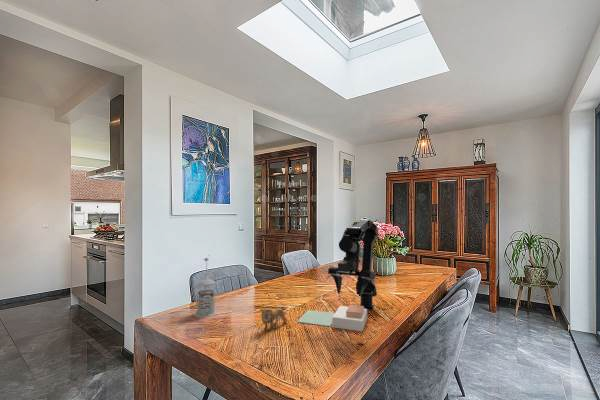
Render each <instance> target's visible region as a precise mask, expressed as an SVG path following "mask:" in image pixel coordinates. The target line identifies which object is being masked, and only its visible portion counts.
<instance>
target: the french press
mask: <svg viewBox="0 0 600 400" xmlns="http://www.w3.org/2000/svg"><path fill="white" fill-rule="evenodd" d="M203 260H204V261H205V265H206V266H205V273H207V266H208V265H207V264H208V262H207V261H209V258H208V257H205V258H204V259H203ZM215 284H216V282H215V280H213V279H209V278H208V279H207V278H204V279H201V280H199V281H198V282H196V285H195V286H193V288H192V290H191V292H190V293H191V294H190V295H191V299H192V300H194V299H196V300H194V302H195V303H196V312H195V313H194V314H193V315H194V317H195V318H201V319H202V318H203V319H205V318H211V317H214V316H215V315H217V314H218V312H217V311H216V310H215V303H216V301H215V300H216V297H215V296H216V295H215V290H212V289H203V290H199V289H200V287H210V286H214V285H215ZM195 289H197V290H199V291H198V292H197V295H196V297H195Z"/></svg>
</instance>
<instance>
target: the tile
mask: <svg viewBox="0 0 600 400" xmlns="http://www.w3.org/2000/svg"><path fill="white" fill-rule="evenodd" d="M347 307H348V309H347V311H346V316H349V317H357V318H361V317H362V315H363V312H364V306H360V305H358V304H357V305H356V304H349V305H348V306H347Z"/></svg>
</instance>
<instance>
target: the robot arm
mask: <svg viewBox="0 0 600 400" xmlns="http://www.w3.org/2000/svg"><path fill="white" fill-rule="evenodd" d="M378 236H379V229H378V225H377V224H376V223H374V222H372V220H371V219H369V218H360V220H359V221H358V222H357V223H355V224H354V225H349V226H347V227H346V228H345V230H344V232H343V234H342V237H341V239H339V240H340V241H339V242H338V247H339V250H340V251H341V252H344V253H345V255H344V257H343V260H342V261H341V260H340V261H339V262H338V263H337V267H333V266H332V267H331V266H330V267H329V268H328V270H327V274H328V275H330V276H331V277H332V278H333V280H334V283H335V287H336V291H337V294H339V295H340V293H341V290H342V284H343V276H356V277H357V281H356V284H355V290H356V295H358V297H360V301H359V302H360V304H359V306H364V309H367V310H371V311H372V310H374V308H375V307H374V305H375V304H373V303H374V302H373V299H374V297H377V295H378V294H377V292H378V291H377V287H376V284H375V280H376V273H375V272H374V271H373V270H372V268H373V267H372V266H373V265H372V264H373V253H374V252H373V250H374V243H376V241H377V239H378ZM359 242H362V243H363V245H362V246H363V247H362V260H361V259H360V254H361V253H360V252H361V244H360V243H359ZM361 262H362V264H361V270H360V269H359V266H360V265H359V264H360V263H361ZM342 275H343V276H342Z"/></svg>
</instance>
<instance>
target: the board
mask: <svg viewBox="0 0 600 400" xmlns="http://www.w3.org/2000/svg"><path fill="white" fill-rule="evenodd" d="M348 307H349V306H345V305H339V306H338V308H337V310H336V311H335V312H334V313H335V314H334V316H333V317H332V324H331V326H332V327H331V328H336V329H342V330H350V331H357V332H363V331H364V329H365V326H366V322H367V320H368V309H364V312H363V315H362V317H361V318H357V317H349V316H346V311H347V309H348Z"/></svg>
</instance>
